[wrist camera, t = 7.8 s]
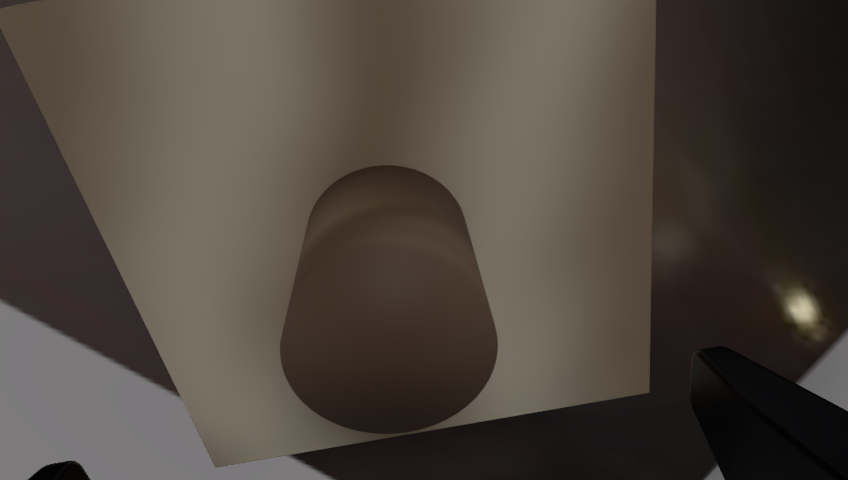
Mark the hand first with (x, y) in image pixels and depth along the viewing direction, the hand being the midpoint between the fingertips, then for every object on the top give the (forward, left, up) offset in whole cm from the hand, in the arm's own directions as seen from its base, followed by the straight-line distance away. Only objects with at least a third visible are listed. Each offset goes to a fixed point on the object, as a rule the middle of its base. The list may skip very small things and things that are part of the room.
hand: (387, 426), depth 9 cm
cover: (0, 0, -6) cm, 6 cm away
